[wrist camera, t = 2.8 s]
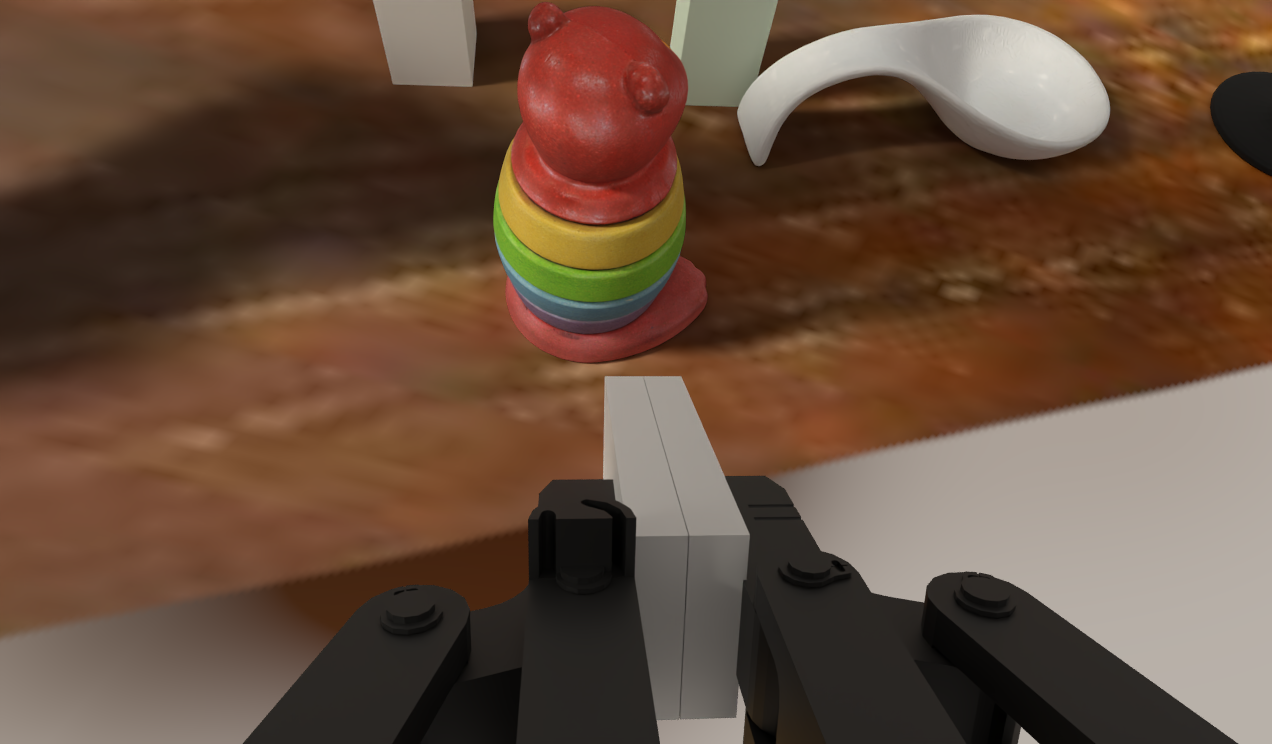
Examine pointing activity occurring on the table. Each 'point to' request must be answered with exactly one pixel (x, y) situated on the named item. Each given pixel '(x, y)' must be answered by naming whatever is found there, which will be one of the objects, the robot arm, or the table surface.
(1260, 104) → the wine glass
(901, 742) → the robot arm
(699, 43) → the sage-green block
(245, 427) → the table surface
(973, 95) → the spoon rest
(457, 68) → the off-white block
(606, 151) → the stacking bear
